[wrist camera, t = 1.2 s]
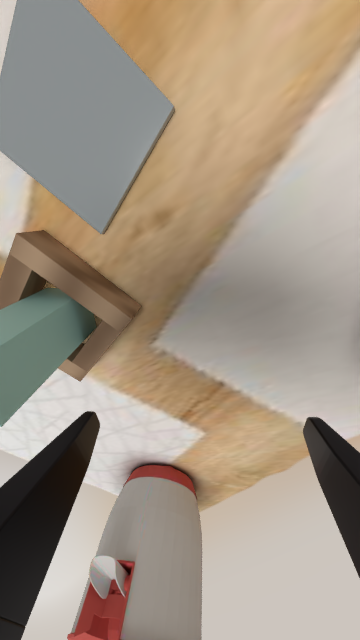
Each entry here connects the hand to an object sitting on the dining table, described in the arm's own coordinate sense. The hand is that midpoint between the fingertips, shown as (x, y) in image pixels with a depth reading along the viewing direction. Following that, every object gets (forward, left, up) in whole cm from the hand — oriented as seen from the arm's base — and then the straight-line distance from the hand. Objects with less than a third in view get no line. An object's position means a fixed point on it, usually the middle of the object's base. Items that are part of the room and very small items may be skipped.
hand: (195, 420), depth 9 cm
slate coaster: (+16, -4, -13) cm, 21 cm away
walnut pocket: (+10, +10, -13) cm, 19 cm away
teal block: (+10, +10, -13) cm, 19 cm away
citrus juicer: (-18, +31, -13) cm, 38 cm away
